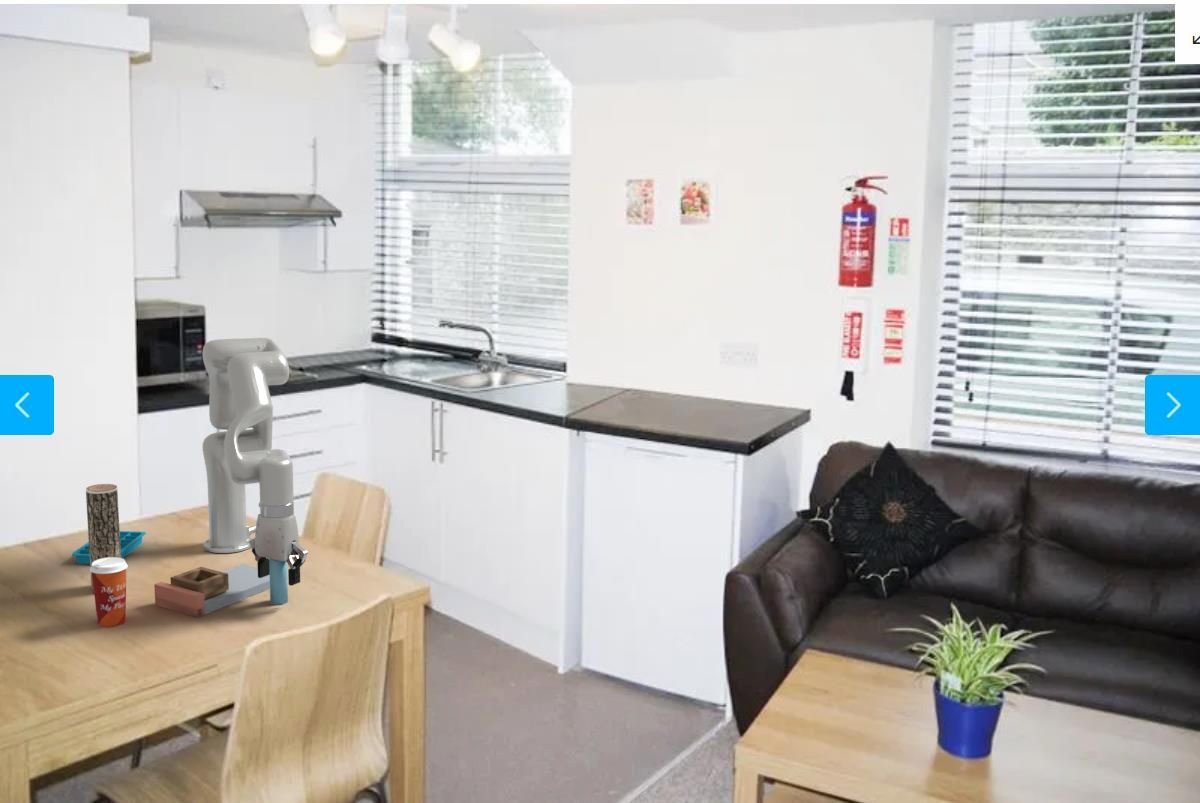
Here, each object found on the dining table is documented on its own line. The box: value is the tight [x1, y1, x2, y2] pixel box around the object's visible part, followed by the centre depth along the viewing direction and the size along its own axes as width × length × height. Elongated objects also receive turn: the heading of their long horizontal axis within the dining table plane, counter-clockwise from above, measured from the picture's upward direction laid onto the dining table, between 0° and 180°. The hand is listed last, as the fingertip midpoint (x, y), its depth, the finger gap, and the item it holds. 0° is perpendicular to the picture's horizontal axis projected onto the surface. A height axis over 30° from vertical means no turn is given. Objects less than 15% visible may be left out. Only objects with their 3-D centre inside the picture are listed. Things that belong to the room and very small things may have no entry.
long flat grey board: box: [153, 563, 270, 618], centre depth 264 cm, size 27×14×5 cm, turn 151°
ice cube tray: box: [71, 530, 147, 565], centre depth 290 cm, size 12×20×3 cm, turn 1°
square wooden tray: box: [170, 566, 229, 599], centre depth 258 cm, size 9×9×4 cm
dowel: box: [268, 558, 289, 606], centre depth 260 cm, size 4×4×12 cm
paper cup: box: [89, 557, 129, 628], centre depth 244 cm, size 8×8×14 cm
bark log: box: [85, 483, 121, 591], centre depth 263 cm, size 7×7×25 cm
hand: (279, 580), depth 259 cm, fingers open, 9 cm apart
